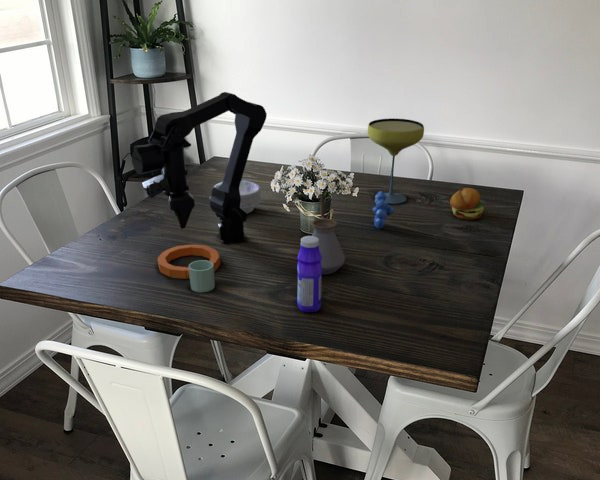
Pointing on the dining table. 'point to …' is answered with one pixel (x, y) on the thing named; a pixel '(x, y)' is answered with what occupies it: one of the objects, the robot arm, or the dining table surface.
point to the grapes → (381, 210)
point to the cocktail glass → (395, 143)
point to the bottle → (309, 275)
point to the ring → (185, 251)
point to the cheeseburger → (467, 204)
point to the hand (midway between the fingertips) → (180, 221)
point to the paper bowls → (248, 195)
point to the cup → (201, 276)
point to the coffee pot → (328, 242)
